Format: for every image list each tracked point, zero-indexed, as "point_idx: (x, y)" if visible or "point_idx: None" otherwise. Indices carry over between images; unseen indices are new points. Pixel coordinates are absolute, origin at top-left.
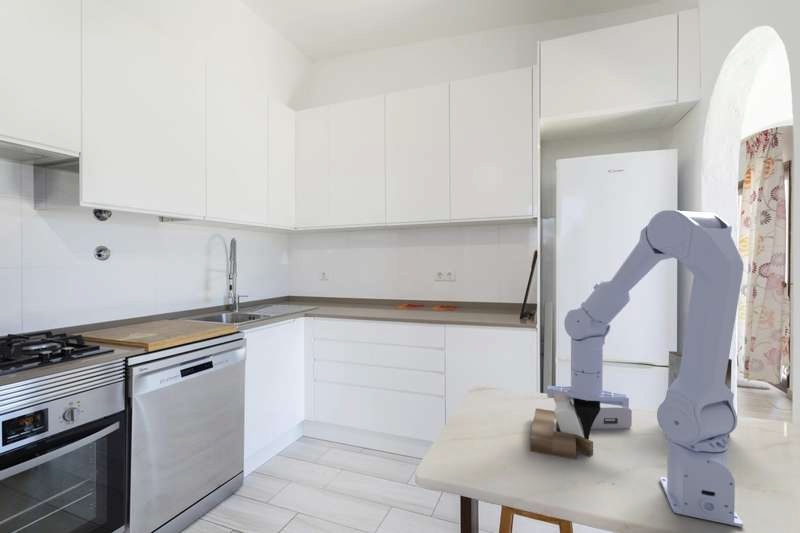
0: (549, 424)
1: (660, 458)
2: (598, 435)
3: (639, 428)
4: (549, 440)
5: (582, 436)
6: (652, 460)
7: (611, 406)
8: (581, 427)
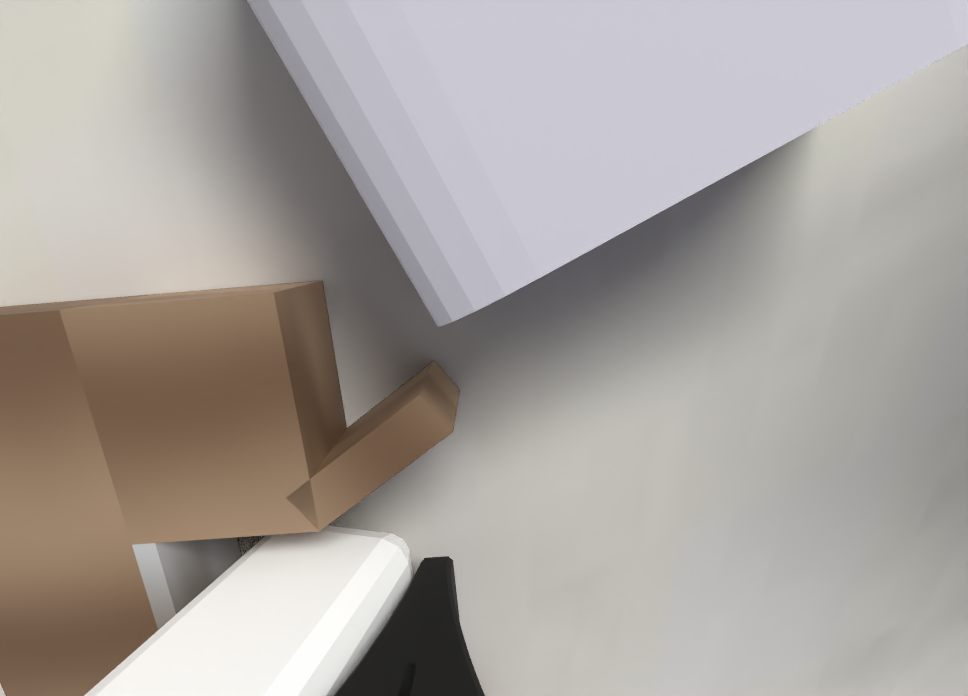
0: None
1: (880, 581)
2: (523, 406)
3: None
4: None
5: None
6: (821, 625)
7: (760, 101)
8: None
